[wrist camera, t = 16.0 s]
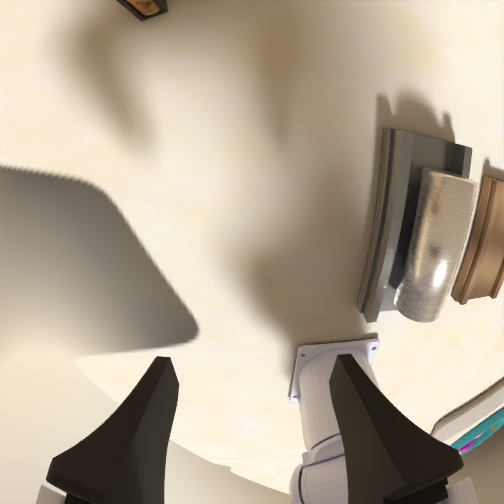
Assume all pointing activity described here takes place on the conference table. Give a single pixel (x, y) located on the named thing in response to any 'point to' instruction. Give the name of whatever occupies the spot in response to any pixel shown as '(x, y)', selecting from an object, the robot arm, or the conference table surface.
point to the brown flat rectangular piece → (484, 247)
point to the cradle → (401, 210)
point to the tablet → (469, 413)
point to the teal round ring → (479, 433)
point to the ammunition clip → (145, 8)
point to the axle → (435, 243)
